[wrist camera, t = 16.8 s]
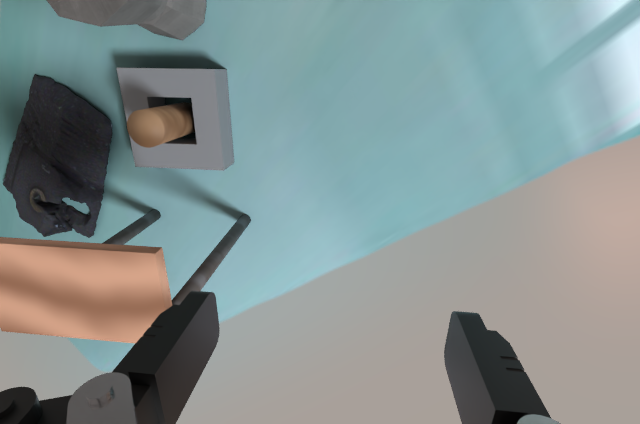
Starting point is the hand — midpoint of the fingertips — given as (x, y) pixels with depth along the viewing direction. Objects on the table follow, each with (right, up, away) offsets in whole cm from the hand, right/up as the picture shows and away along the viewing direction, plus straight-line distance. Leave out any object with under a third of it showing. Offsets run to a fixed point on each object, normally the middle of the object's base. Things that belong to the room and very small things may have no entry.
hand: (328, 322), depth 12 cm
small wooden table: (-18, +6, +39) cm, 43 cm away
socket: (-18, +16, +35) cm, 42 cm away
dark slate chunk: (-38, +11, +40) cm, 56 cm away
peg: (-18, +16, +35) cm, 42 cm away
